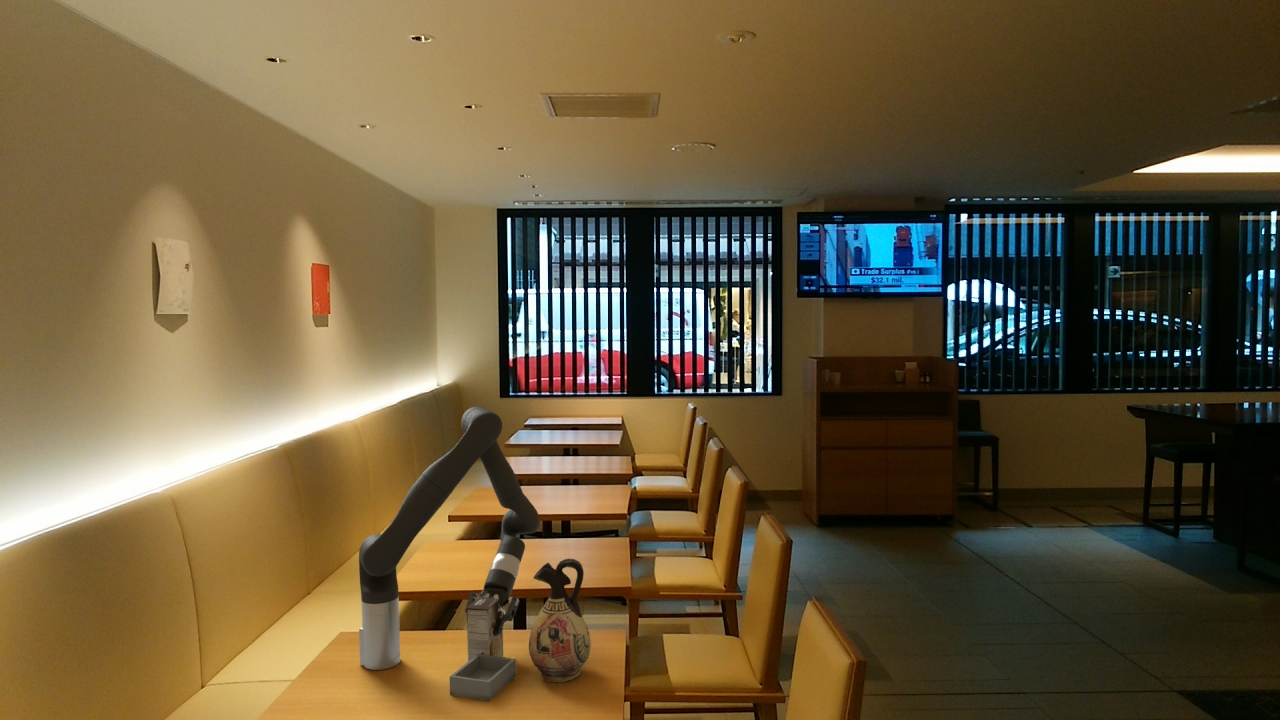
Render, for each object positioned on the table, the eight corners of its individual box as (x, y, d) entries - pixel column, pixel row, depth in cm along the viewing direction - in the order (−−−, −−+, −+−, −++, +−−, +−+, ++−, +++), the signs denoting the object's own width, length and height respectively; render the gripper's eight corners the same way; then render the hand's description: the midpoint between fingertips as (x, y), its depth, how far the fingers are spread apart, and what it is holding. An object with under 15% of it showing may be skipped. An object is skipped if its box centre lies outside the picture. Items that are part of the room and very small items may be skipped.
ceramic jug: (524, 689, 197) (522, 567, 195) (534, 662, 212) (532, 548, 211) (594, 689, 197) (592, 567, 195) (599, 662, 212) (598, 548, 210)
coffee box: (481, 654, 218) (479, 595, 217) (504, 656, 216) (502, 596, 216) (467, 669, 209) (465, 607, 208) (491, 671, 207) (489, 608, 207)
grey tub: (449, 695, 194) (449, 676, 194) (478, 671, 207) (478, 653, 207) (489, 701, 191) (489, 682, 191) (516, 676, 204) (515, 658, 204)
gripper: (474, 565, 221) (452, 623, 210) (522, 570, 216) (502, 629, 206) (484, 578, 226) (463, 636, 215) (531, 583, 222) (512, 642, 211)
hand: (482, 633), depth 211 cm, fingers closed on coffee box, 6 cm apart
